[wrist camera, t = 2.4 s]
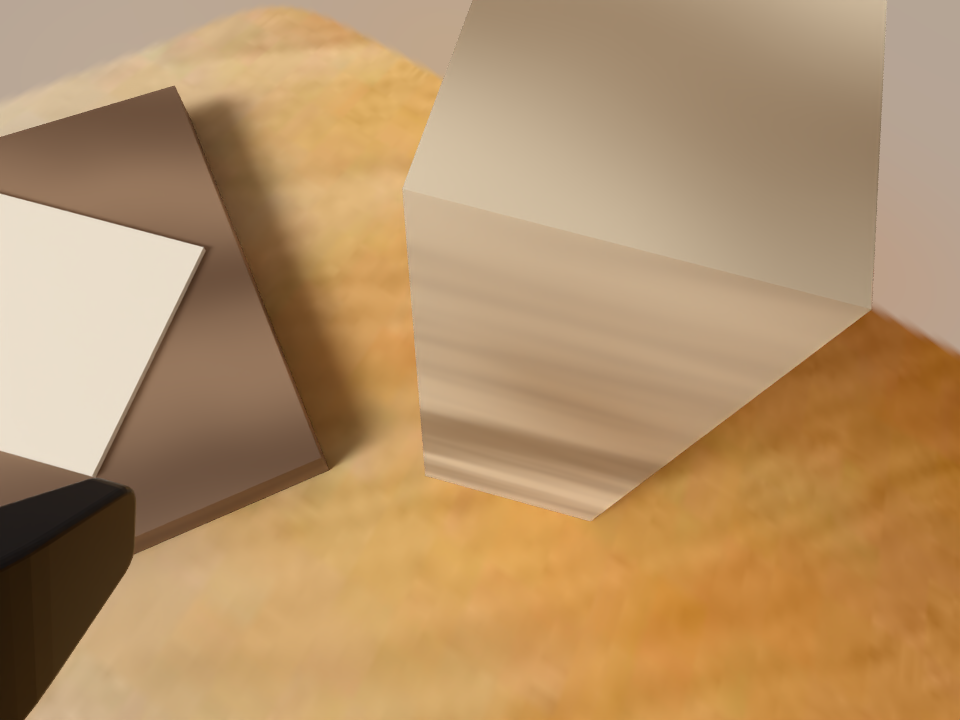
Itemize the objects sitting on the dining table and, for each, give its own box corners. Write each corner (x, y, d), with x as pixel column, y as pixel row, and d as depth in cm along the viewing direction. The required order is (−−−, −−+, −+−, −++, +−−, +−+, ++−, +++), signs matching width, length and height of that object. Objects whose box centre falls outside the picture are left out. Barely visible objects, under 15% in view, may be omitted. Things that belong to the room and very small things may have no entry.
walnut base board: (329, 470, 20) (319, 455, 19) (-115, 661, 18) (-169, 663, 16) (189, 116, 25) (172, 81, 23) (-182, 230, 22) (-229, 199, 20)
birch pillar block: (590, 521, 20) (871, 309, 7) (425, 475, 20) (402, 189, 7) (621, 367, 22) (887, -25, 9) (469, 326, 22) (514, -113, 9)
